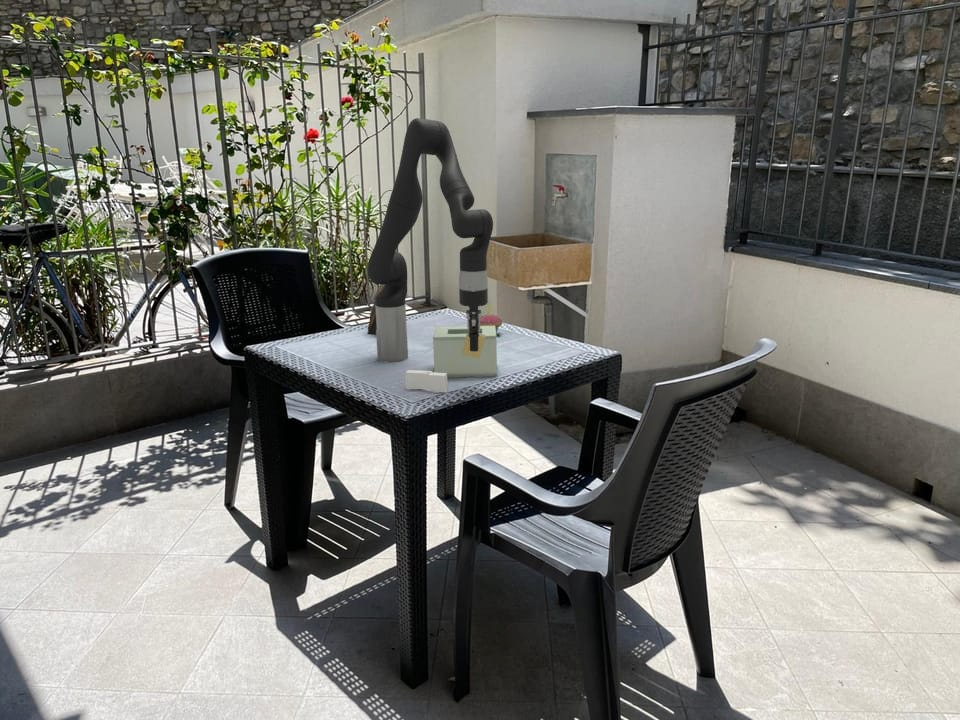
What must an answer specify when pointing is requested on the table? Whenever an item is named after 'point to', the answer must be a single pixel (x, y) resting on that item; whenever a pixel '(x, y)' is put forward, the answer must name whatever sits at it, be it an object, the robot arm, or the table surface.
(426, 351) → the table surface
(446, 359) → the box
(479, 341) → the tan brushed block
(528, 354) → the table surface
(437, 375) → the napkin holder
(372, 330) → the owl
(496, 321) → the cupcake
